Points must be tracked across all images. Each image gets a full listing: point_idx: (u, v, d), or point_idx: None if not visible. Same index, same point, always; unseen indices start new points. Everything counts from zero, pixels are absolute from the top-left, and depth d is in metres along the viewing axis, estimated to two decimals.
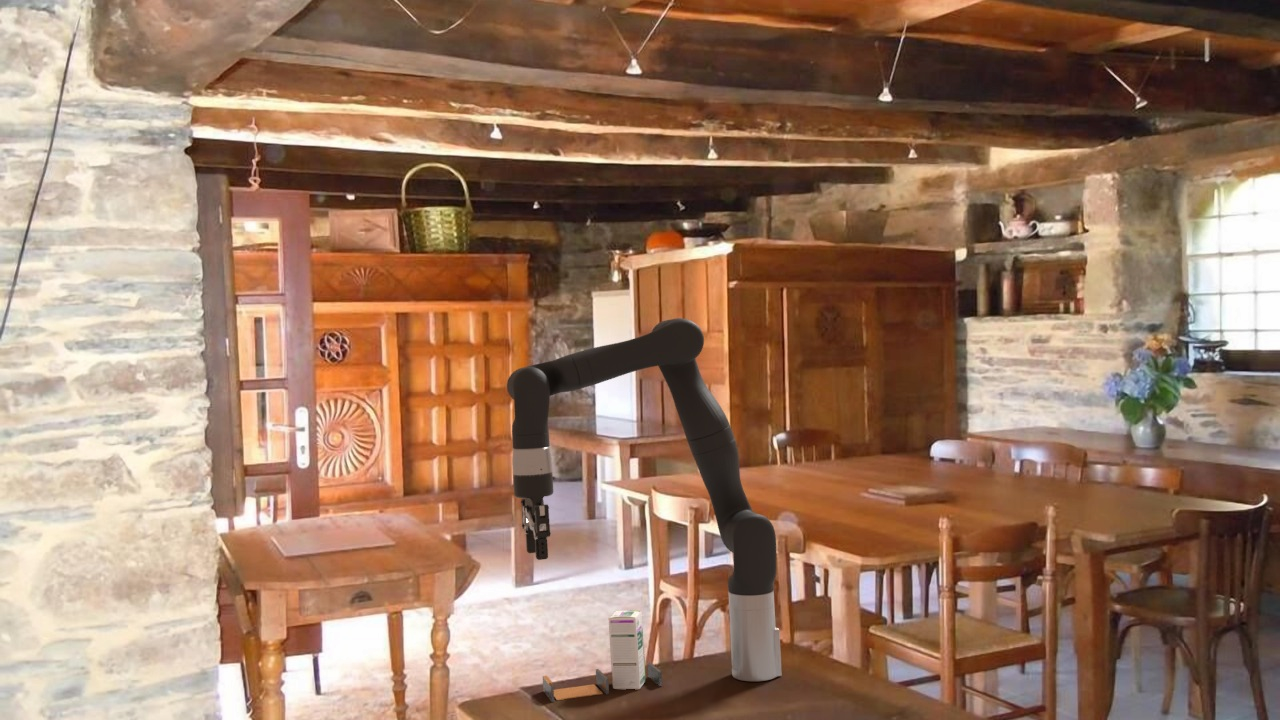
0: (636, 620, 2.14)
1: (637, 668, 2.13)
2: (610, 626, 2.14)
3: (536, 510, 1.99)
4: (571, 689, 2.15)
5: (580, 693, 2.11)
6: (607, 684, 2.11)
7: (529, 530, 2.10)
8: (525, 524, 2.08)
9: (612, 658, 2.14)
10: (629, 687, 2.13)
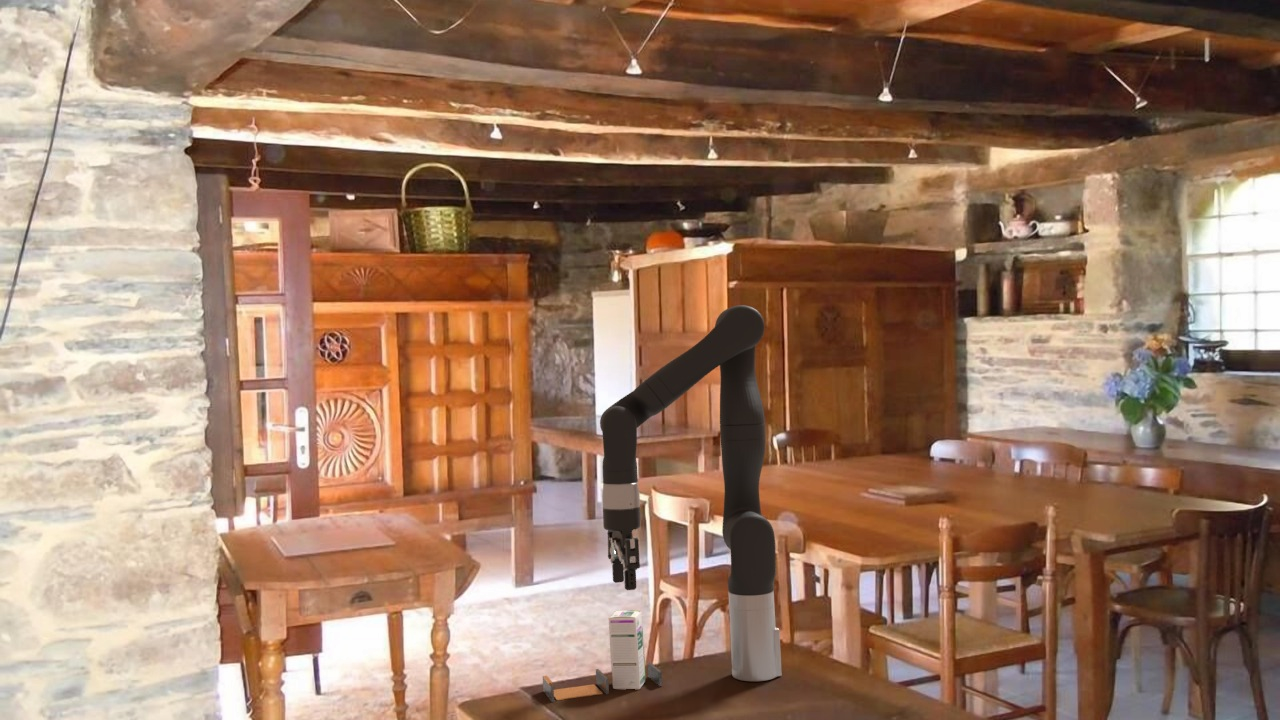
0: (636, 620, 2.14)
1: (637, 668, 2.13)
2: (610, 626, 2.14)
3: (627, 543, 2.10)
4: (571, 689, 2.15)
5: (580, 693, 2.11)
6: (607, 684, 2.11)
7: (615, 561, 2.20)
8: (612, 555, 2.19)
9: (612, 658, 2.14)
10: (629, 687, 2.13)
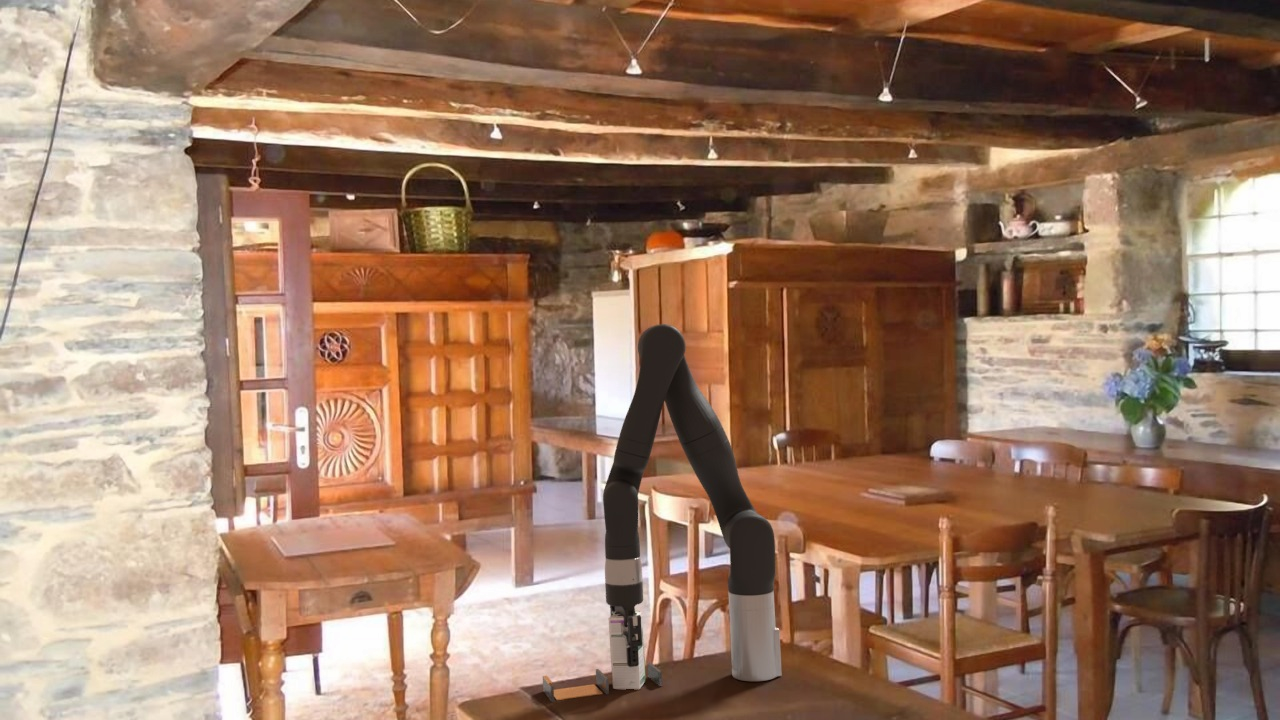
0: None
1: (637, 668, 2.13)
2: (610, 626, 2.14)
3: (629, 621, 2.09)
4: (571, 689, 2.15)
5: (580, 693, 2.11)
6: (607, 684, 2.11)
7: None
8: None
9: (612, 658, 2.14)
10: (629, 687, 2.13)
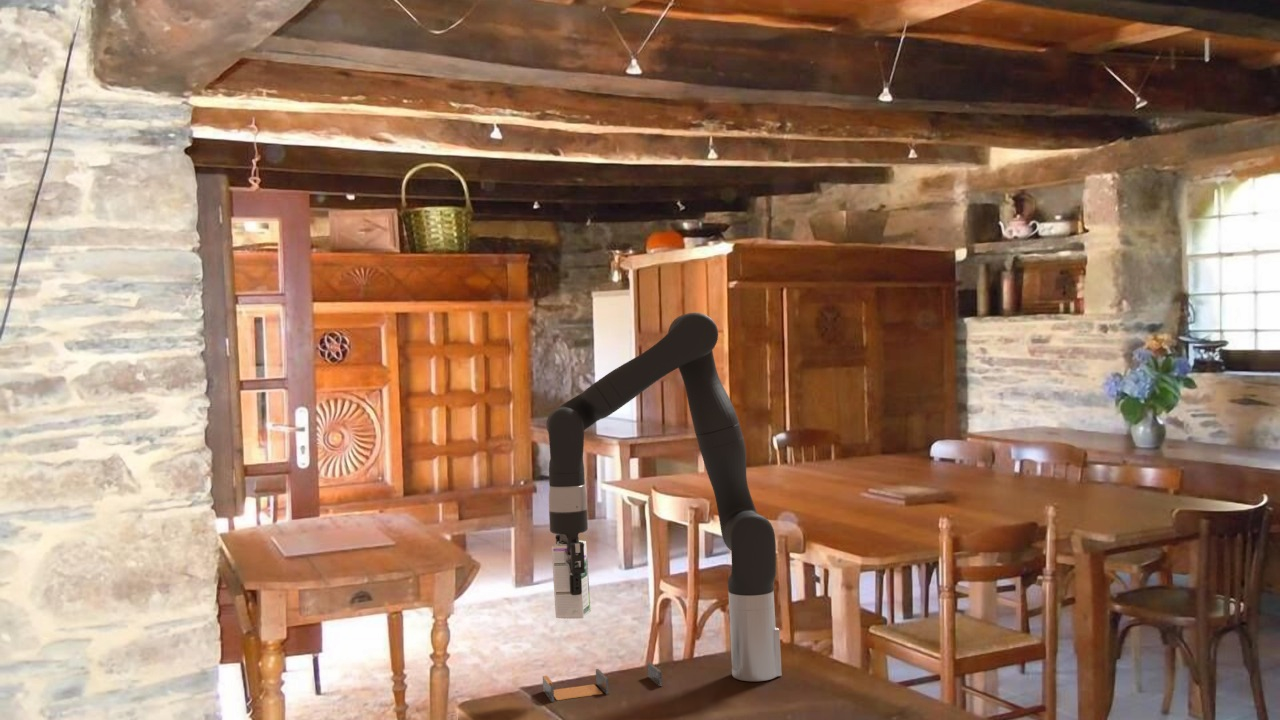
0: None
1: (580, 597, 2.10)
2: (553, 555, 2.11)
3: (572, 548, 2.06)
4: (571, 689, 2.15)
5: (580, 693, 2.11)
6: (607, 684, 2.11)
7: None
8: None
9: (555, 587, 2.11)
10: (572, 616, 2.10)
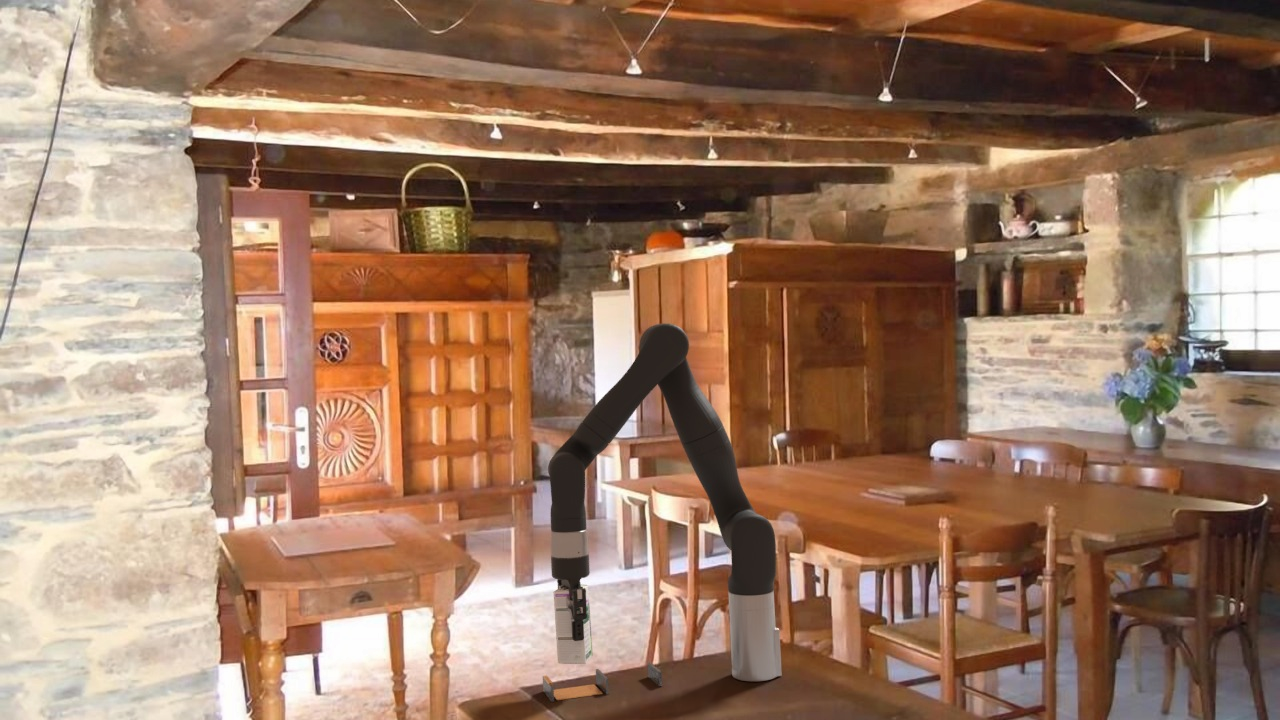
0: None
1: (582, 642, 2.10)
2: (555, 600, 2.11)
3: (574, 594, 2.06)
4: (571, 689, 2.15)
5: (580, 693, 2.11)
6: (607, 684, 2.11)
7: None
8: None
9: (557, 632, 2.11)
10: (574, 662, 2.10)
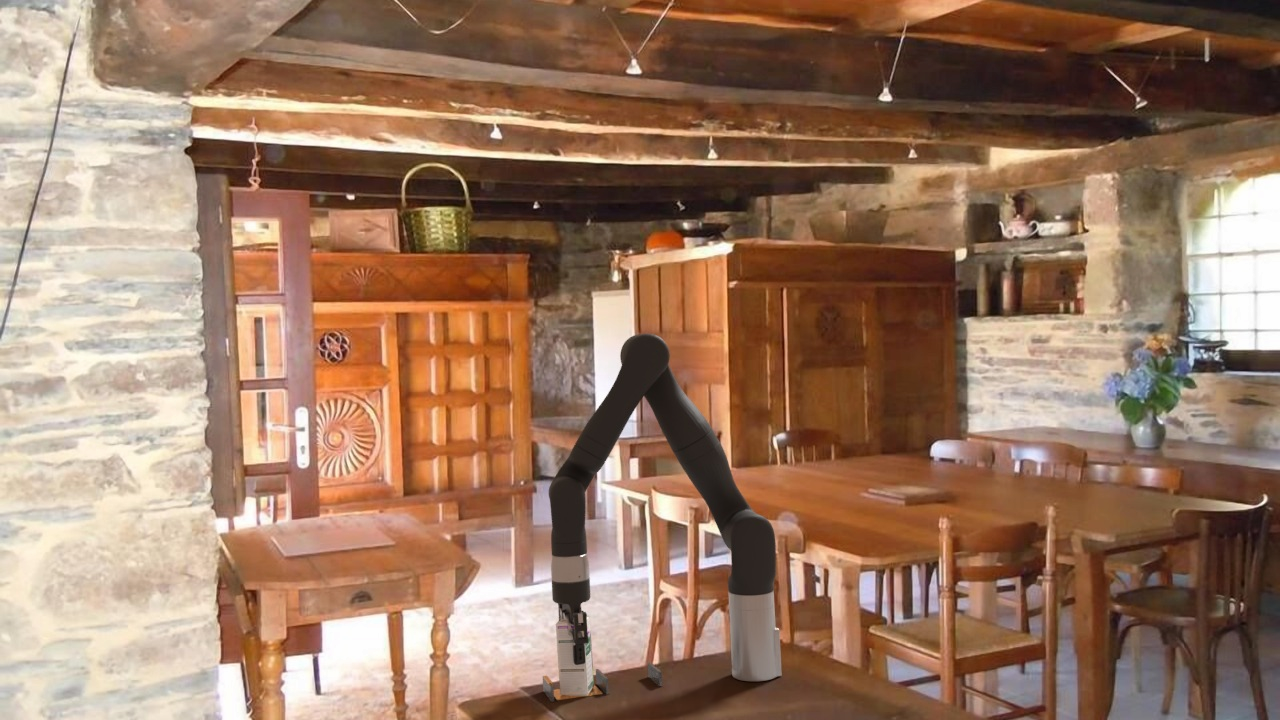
0: None
1: (585, 674, 2.10)
2: (557, 632, 2.10)
3: (575, 618, 2.06)
4: None
5: None
6: (607, 684, 2.11)
7: None
8: None
9: (559, 664, 2.10)
10: (577, 693, 2.10)
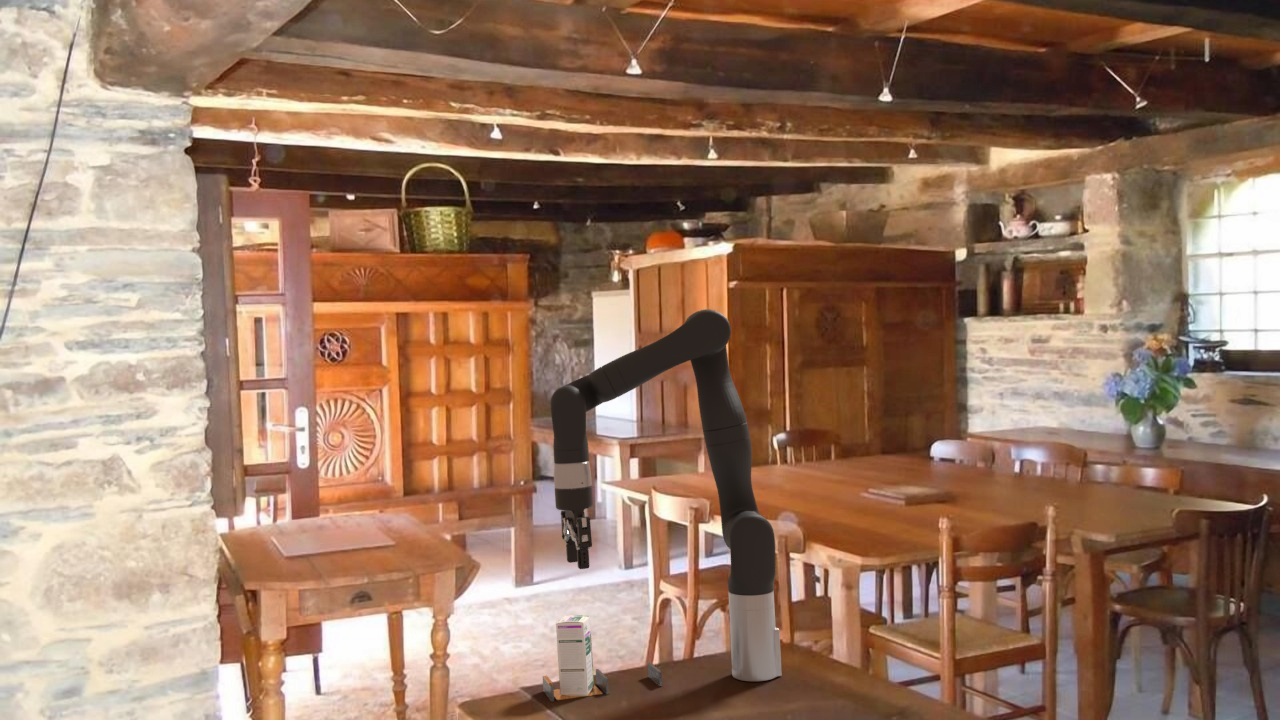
0: (584, 625, 2.10)
1: (585, 674, 2.10)
2: (558, 632, 2.10)
3: (578, 522, 2.09)
4: None
5: None
6: (607, 684, 2.11)
7: (569, 541, 2.20)
8: (566, 535, 2.18)
9: (559, 664, 2.10)
10: (577, 693, 2.10)
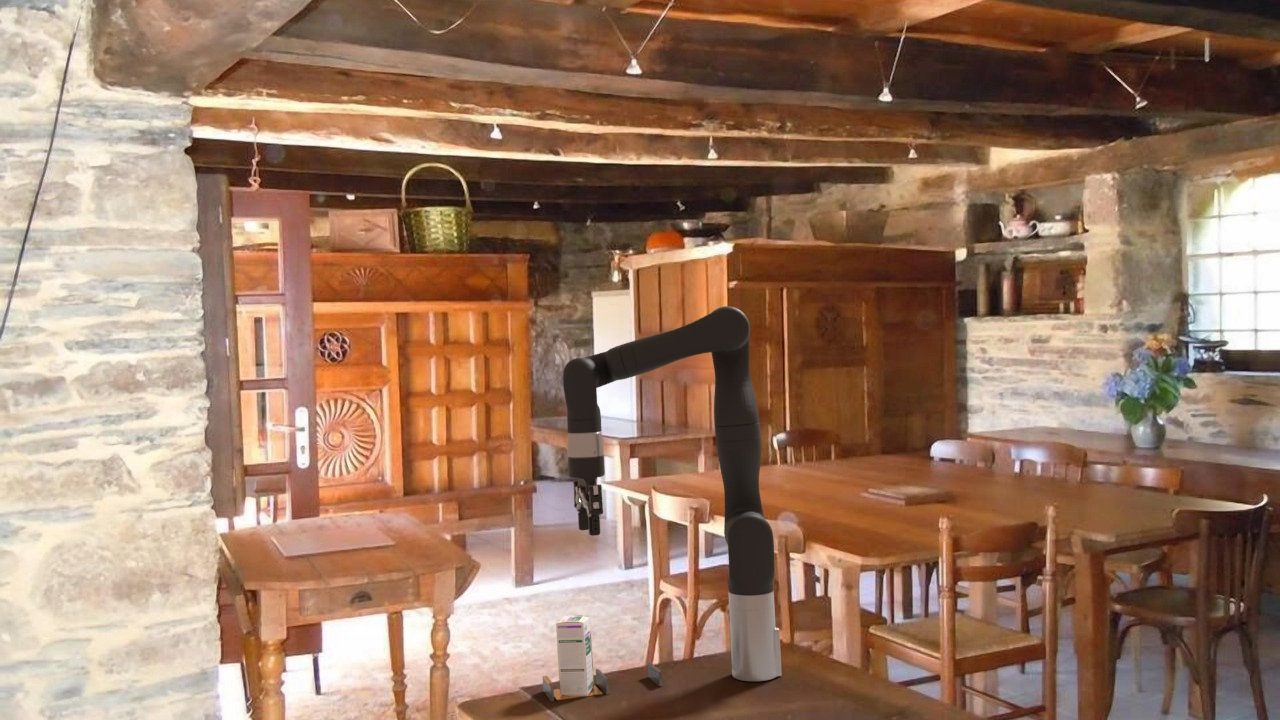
0: (584, 625, 2.10)
1: (585, 674, 2.10)
2: (558, 632, 2.10)
3: (590, 489, 2.16)
4: None
5: None
6: (607, 684, 2.11)
7: (581, 509, 2.26)
8: (578, 503, 2.25)
9: (559, 664, 2.10)
10: (577, 693, 2.10)
